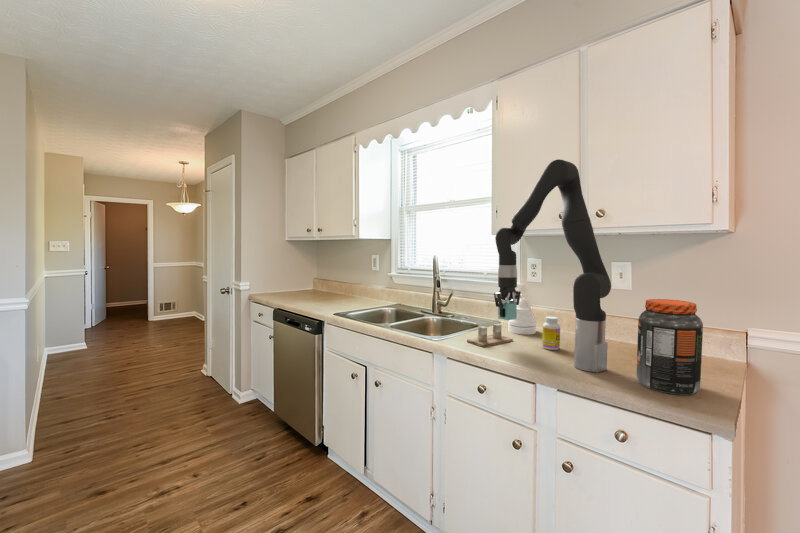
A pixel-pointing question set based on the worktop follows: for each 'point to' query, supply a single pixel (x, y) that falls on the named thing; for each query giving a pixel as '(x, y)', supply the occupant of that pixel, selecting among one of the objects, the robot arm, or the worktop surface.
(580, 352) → the robot arm
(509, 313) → the teal block
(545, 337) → the supplement bottle
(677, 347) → the supplement tub
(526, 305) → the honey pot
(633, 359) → the worktop surface
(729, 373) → the worktop surface
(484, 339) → the stand
